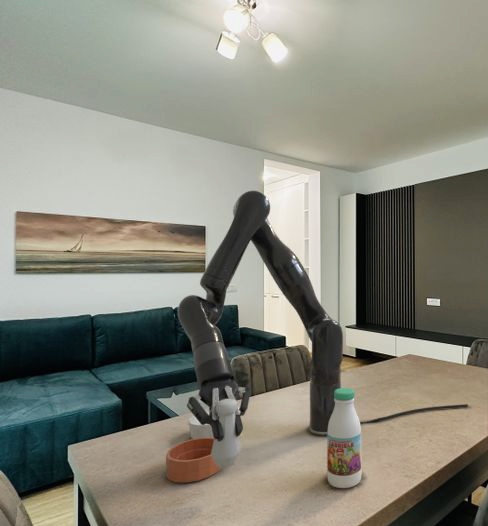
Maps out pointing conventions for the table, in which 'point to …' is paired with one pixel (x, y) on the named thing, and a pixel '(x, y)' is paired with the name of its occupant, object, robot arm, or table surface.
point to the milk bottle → (344, 442)
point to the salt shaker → (226, 435)
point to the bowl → (191, 460)
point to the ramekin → (199, 428)
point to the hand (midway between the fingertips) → (229, 436)
